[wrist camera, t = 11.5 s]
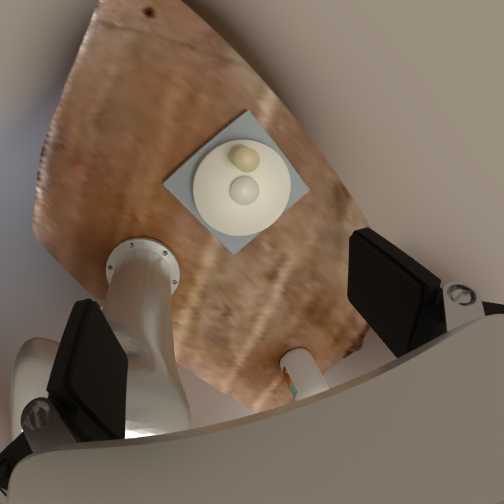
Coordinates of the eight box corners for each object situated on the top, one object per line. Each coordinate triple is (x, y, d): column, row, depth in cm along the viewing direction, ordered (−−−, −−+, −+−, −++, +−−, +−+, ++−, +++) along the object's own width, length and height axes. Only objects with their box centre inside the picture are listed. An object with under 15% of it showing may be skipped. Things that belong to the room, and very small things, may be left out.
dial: (299, 159, 42) (321, 168, 36) (264, 240, 46) (278, 261, 40) (213, 125, 37) (220, 126, 30) (179, 216, 41) (181, 235, 35)
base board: (231, 251, 48) (233, 255, 47) (163, 182, 40) (162, 184, 39) (305, 188, 46) (309, 190, 45) (246, 110, 38) (248, 110, 37)
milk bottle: (283, 348, 62) (318, 419, 44) (313, 345, 64) (352, 411, 47) (275, 370, 65) (305, 438, 48) (303, 367, 67) (337, 430, 50)
